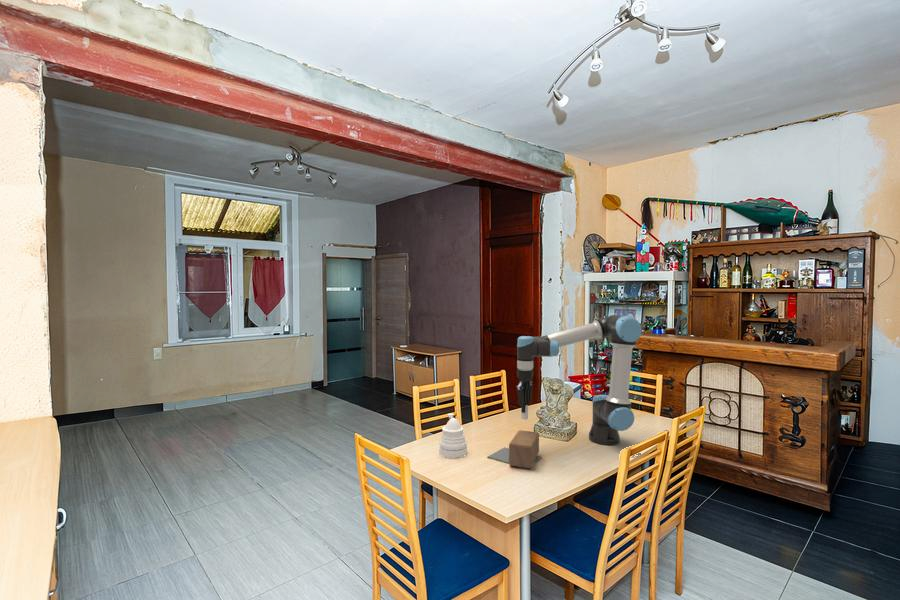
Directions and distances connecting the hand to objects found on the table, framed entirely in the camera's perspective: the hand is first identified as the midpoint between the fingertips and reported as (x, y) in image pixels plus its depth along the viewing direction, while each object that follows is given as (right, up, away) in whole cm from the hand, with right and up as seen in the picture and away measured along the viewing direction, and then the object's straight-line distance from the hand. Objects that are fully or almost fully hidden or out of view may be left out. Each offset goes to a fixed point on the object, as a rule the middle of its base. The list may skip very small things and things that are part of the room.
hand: (524, 418), depth 210 cm
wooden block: (+2, -10, 0) cm, 11 cm away
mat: (-6, -16, -7) cm, 18 cm away
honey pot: (-34, -16, -1) cm, 38 cm away
